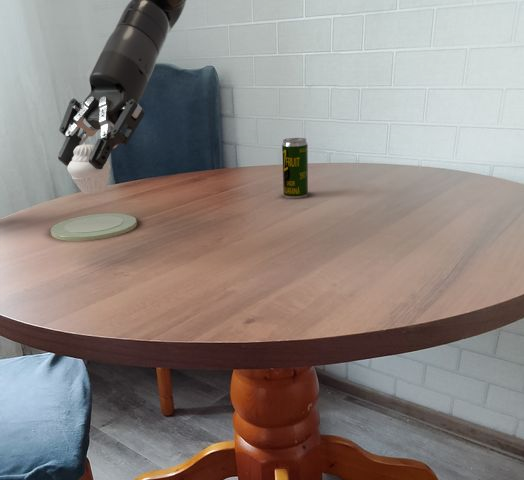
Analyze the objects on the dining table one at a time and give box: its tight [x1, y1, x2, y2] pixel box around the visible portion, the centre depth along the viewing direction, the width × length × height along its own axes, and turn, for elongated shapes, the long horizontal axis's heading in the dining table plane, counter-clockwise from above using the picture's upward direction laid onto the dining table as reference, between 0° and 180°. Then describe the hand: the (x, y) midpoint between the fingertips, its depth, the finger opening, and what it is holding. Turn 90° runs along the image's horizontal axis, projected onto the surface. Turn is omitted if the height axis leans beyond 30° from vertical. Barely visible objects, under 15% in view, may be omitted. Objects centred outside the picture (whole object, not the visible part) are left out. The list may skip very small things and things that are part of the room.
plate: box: [50, 212, 138, 242], centre depth 104 cm, size 16×16×1 cm
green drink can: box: [281, 137, 309, 200], centre depth 116 cm, size 5×5×12 cm
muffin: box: [66, 142, 112, 195], centre depth 80 cm, size 6×6×7 cm
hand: (79, 164), depth 78 cm, fingers closed on muffin, 6 cm apart
